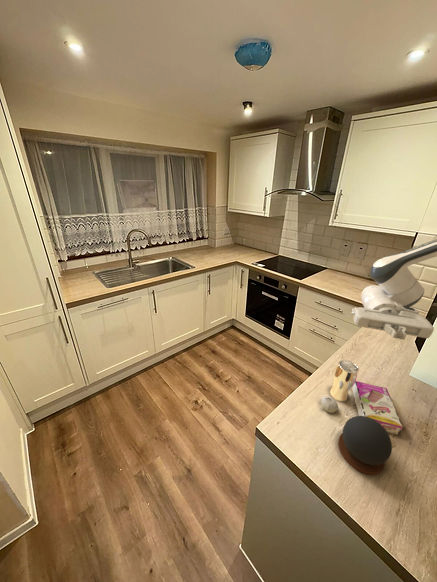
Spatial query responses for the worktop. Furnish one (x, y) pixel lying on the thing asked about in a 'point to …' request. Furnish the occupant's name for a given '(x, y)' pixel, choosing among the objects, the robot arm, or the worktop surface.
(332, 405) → the garlic
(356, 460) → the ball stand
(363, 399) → the candy bar box
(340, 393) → the cream cylindrical can
